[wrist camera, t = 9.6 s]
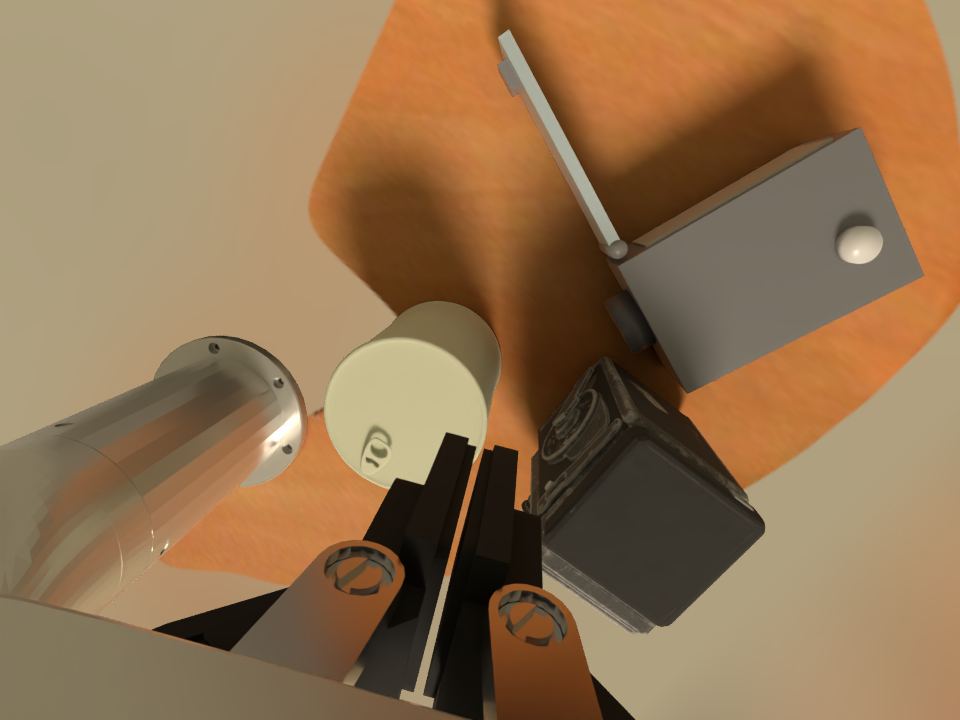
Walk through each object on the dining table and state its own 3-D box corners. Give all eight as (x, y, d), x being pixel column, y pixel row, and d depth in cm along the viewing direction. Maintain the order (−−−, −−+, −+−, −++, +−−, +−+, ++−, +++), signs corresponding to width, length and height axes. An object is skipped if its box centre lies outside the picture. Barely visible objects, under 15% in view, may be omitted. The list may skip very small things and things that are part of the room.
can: (359, 373, 40) (289, 436, 29) (423, 275, 38) (373, 302, 26) (457, 439, 41) (426, 527, 30) (526, 348, 38) (522, 405, 27)
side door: (617, 247, 36) (631, 252, 30) (597, 258, 36) (607, 266, 31) (515, 55, 33) (512, 27, 28) (495, 69, 33) (488, 44, 28)
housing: (644, 376, 38) (666, 410, 32) (583, 268, 36) (593, 280, 30) (859, 265, 35) (934, 277, 28) (803, 140, 33) (869, 121, 26)
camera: (503, 444, 41) (486, 570, 26) (591, 340, 38) (624, 417, 23) (608, 520, 42) (646, 681, 27) (701, 423, 39) (799, 547, 24)
